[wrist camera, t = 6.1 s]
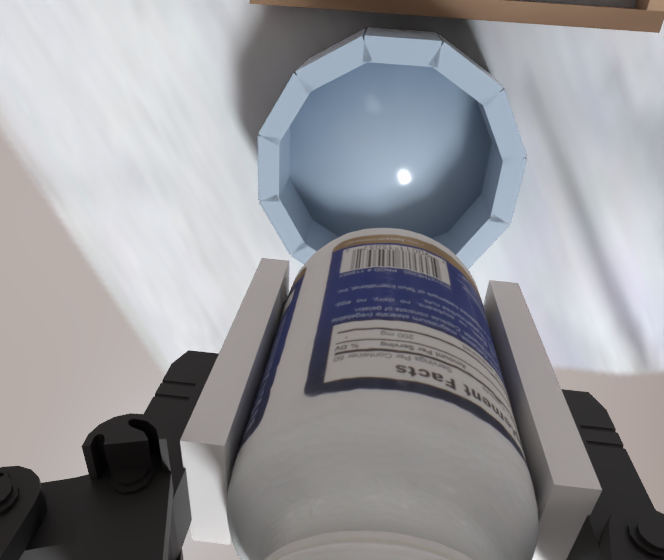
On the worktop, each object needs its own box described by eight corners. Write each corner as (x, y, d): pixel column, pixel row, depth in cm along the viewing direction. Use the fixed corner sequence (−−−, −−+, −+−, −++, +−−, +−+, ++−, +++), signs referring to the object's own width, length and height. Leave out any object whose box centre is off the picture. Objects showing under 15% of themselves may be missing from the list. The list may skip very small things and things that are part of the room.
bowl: (272, 20, 25) (255, 27, 22) (533, 39, 24) (554, 49, 21) (272, 248, 31) (259, 279, 28) (481, 268, 30) (491, 302, 27)
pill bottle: (371, 406, 17) (352, 826, 9) (252, 295, 15) (84, 686, 7) (519, 320, 15) (682, 769, 7) (399, 180, 13) (411, 544, 5)
